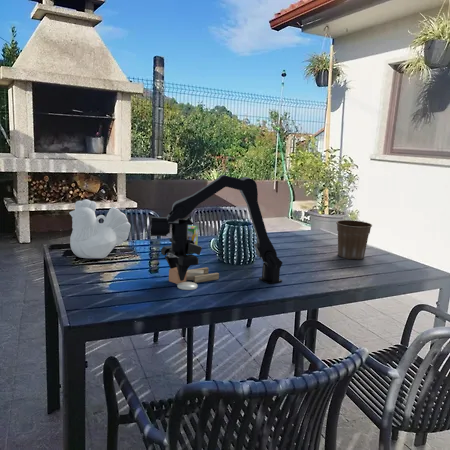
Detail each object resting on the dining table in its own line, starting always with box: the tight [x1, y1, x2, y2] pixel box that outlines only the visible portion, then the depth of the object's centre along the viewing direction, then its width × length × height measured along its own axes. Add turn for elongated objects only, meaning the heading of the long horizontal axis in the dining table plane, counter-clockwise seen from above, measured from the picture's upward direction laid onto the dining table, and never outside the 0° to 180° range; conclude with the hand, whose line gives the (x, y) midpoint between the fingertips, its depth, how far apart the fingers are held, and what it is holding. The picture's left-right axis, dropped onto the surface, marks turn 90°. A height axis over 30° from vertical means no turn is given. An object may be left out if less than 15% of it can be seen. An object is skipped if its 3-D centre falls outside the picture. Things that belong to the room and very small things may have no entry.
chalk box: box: [188, 225, 199, 254], centre depth 198 cm, size 9×9×15 cm
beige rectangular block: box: [186, 269, 205, 281], centre depth 158 cm, size 3×8×3 cm, turn 92°
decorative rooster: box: [68, 198, 132, 259], centre depth 179 cm, size 25×16×25 cm, turn 109°
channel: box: [190, 267, 220, 284], centre depth 160 cm, size 9×10×2 cm
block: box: [168, 267, 187, 285], centre depth 154 cm, size 4×4×4 cm
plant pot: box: [336, 219, 373, 260], centre depth 201 cm, size 16×16×16 cm
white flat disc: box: [176, 281, 198, 291], centre depth 149 cm, size 7×7×1 cm
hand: (178, 278), depth 155 cm, fingers closed on block, 5 cm apart
